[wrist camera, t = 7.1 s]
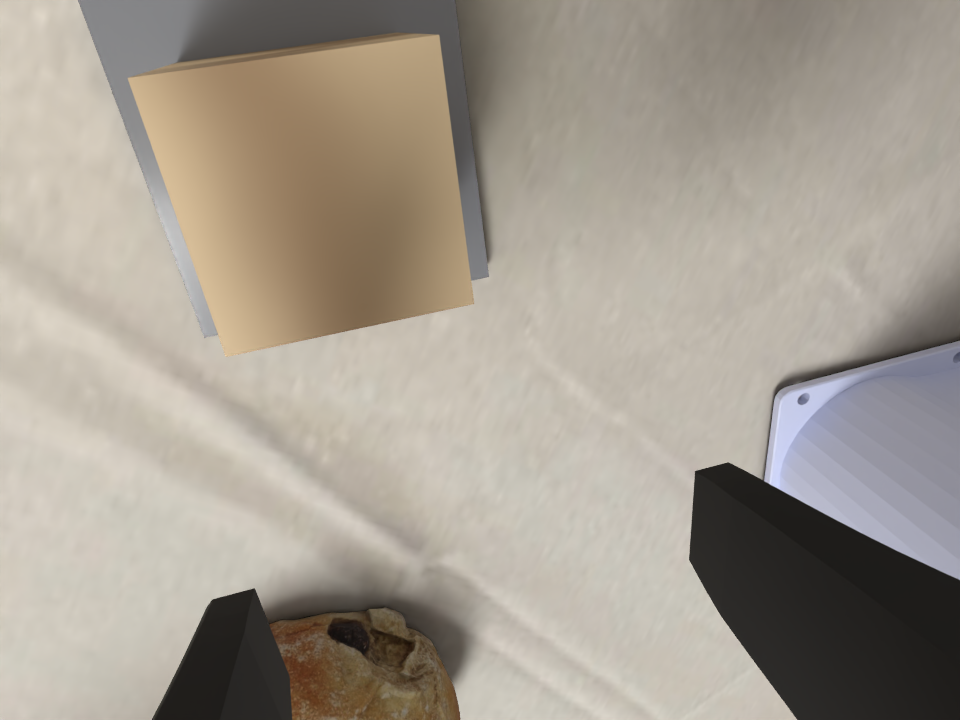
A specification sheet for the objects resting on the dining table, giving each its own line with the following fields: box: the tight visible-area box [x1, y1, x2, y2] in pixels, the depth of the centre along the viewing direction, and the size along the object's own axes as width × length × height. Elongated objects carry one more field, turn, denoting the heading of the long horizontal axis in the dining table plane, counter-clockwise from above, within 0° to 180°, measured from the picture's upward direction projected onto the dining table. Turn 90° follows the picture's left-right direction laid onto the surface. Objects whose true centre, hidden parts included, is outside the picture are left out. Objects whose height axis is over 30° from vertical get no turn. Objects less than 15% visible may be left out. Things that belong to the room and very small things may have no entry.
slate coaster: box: [78, 0, 489, 338], centre depth 16 cm, size 8×8×1 cm
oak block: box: [128, 33, 474, 357], centre depth 14 cm, size 5×5×5 cm
